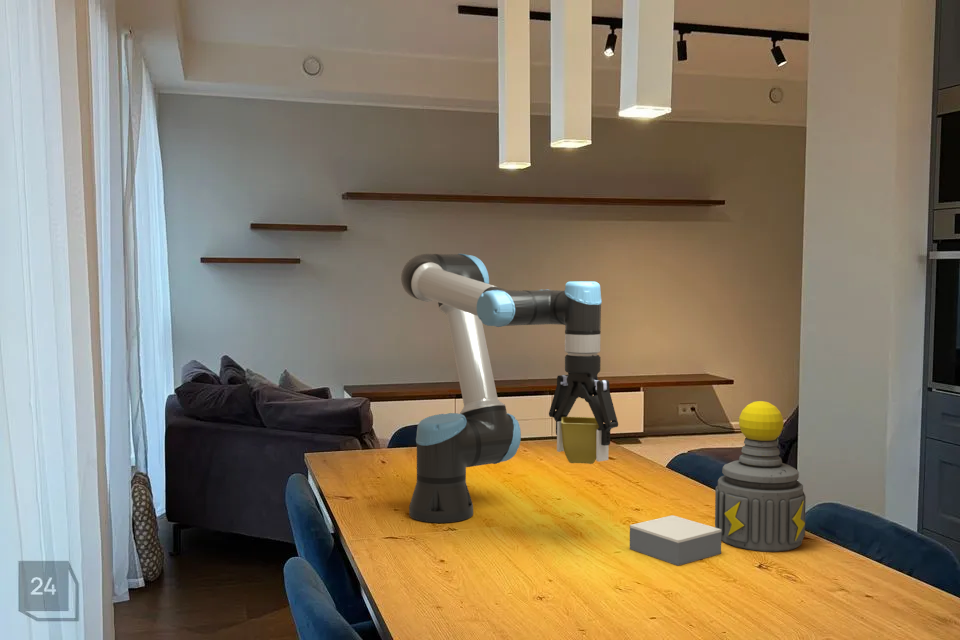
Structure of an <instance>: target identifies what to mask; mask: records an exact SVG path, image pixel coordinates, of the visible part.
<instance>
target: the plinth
mask: <svg viewBox="0 0 960 640" xmlns="http://www.w3.org/2000/svg"><path fill="white" fill-rule="evenodd" d="M629 550H631V551H635V552H638V553H641V554H643V555H647V556H649V557H652V558H655V559H657V560H660V561H662V562H666V563H669V564H671V565H674V566H682V565H685V564H689V563H693V562H696V561H699V560H700V561H701V560H703V559H707V558H710V557H713V556H717V555H721V554H722V541H721V529H718V528H715V526H711V525H708V524H704V523H701V522H697V521H694V520H690V519H688V518H684V517H681V516H677V515H667V516H663V517H659V518H656V519H650V520H647V521H642V522H638V523H634V524H629Z"/></svg>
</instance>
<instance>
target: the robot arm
mask: <svg viewBox="0 0 960 640" xmlns="http://www.w3.org/2000/svg"><path fill="white" fill-rule="evenodd" d="M400 280H401V281H400V282H401V286H402V289H403V290H404V291H405V292H406V294H407V295H409V296H410V297H411V298H413V299H415V300H418V301H419V300H420V301H421V302H424V303H425V302H432V301H434V302H437V304H438V308H439V311H440V312H442V313H443V314H444V315H446V319H447V325H448V331H449V334H450V339H451V345H452V350H453V355H454V360H455V365H456V371H457V376H458V382H459V386H460V387H459V388H460V391H461V396H462V401H463V402H462V403H463V408H462V409H461V411H460V412H459V413H456V412H454V413H453V412H452V413H451V412H450V413H440V414H439V413H438V414H435V415H431V416H428V417H425V418H423V419H421V420H420V422H419V423H418V424H417V427H416V428H417V429H416V437H415V442H416V484H415V486H414V491H413V493H412V496H411V500H410V502H409V507H408V508H409V509H408V511H409V512H408V513H409V514H408V515H409V517H410V518H411V519H413V520H416V521H420V522H424V523H434V524H435V523H437V524H439V523H445V524H446V523H454V522H462V521H465V520H468V519H470V518H471V517H472V516H474V505H473V501H472V498H471V497H472V496H471V495H470V492H469V488H468V484H467V480H466V479H467V478H466V476H467V472H466V471H467V470H466V469H467V468H470V467H471V468H472V467H478V466H485V465H492V464H493V465H496V464H499V463H503V462H507V461H510V460H512V458H514V456H515V455H516V454H517V452H518V449H519V448H520V446H521V440H522V439H521V438H522V432H521V431H522V430H521V427H520V422H519V420H517V419H516V417H515V415H513V414H510V413H508V412H507V408H506V407H507V406H506V404H505V403H504V402H502V401H501V400H500V399H498V398H499V397H498V394H497V389H496V384H495V379H494V374H493V368H492V365H491V364H492V362H491V359H490V353H489V350H488V346H487V339H486V335H485V330H484V326H487V327H489V326H490V327H498V328H499V327H508V326H539V325H540V326H541V325H557V326H558V325H559V326H560V325H563V326H564V327H565V328H564V352H565V353H566V355H565V356H564V371H565V372H566V373H567V374H561V375H559V374H558V375H557V377H556V386H555V391H554V394H553V398H552V402H551V405H550V408H549V411H548V416H549V417H550V418H551V417H552V418H553V419H554V421H555V435H556V452H559V453H560V452H564V448H563V441H562V428H561V417H569V414H570V412H571V410H572V408H573V407H574V404H575V403H576V400H577V399H579V398H580V399H582V400H584V401H585V402H586V403H588V406H589V407H590V410H591V412H592V414H593V418H595V419H596V421H597V423H598V426H599V428H598V430H597V436H596V460H595V461H596V462H604V461H609V446H610V444H611V430H612V429H614V428H617V427H619V422H618V417H617V415H616V410H615V406H614V403H613V399H612V396H611V391H610V381H609V379H603V380H599V378H598V375H599V373H600V372H601V360H602V359H601V356H600V355H599V353H600V352H601V335H602V334H601V333H602V332H601V331H602V330H601V329H602V327H601V326H602V325H601V324H602V323H601V321H602V316H601V315H602V314H601V313H602V294H601V291H602V289H601V285H600V283H598V282H597V281H567V282H566V283H565V285H564V286H565V287H564V290H554V289H537V290H535V289H532V290H530V289H529V290H526V289H525V290H514V289H513V290H511V289H505V288H503V287H498V286H496V285H493V284H490V278H489V271H488V270H487V267H486V264H484V263H483V261H482V260H481V259H480V258H478V257H477V256H476V255H475V256H474V255H470V254H466V253H465V254H464V253H457V254H456V253H454V254H453V253H450V254H449V253H421V254H418V255H416V256H413V257H412V258H410V259H409V260H408V261H407V262H406V263H405V264H404V266H403V267H402V271H401V274H400Z"/></svg>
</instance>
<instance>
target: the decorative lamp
mask: <svg viewBox="0 0 960 640" xmlns="http://www.w3.org/2000/svg"><path fill="white" fill-rule="evenodd" d="M738 426H739V429H740V431H741V433H742V435H743V436H744V437H745V438H744V441H743V444H744V446H742V448H741V451H740V452H741V453H742V454H741V455H739V458H738V460H733V461H731V462H728V463H725V464H724V465H723V466H722V470H721V471H722V474H723V475H721V476H719V478H718V480H717V486H715V494H714V495H715V498H714V500H715V501H714V502H715V504H714V506H715V507H714V508H715V509H714V527H715V528H718V529H721V542H723V543H725V544H727V545H729V546H731V547H732V546H733V547H734V548H739V549H743V550H746V551H747V550H749V551H753V552H754V551H755V552H772V553H775V552H787V551H791V550H795V549H797V548H798V547H800V546H802V544H803V543H802V542H803V540H804V537H805V535H806V503H807V502H806V501H807V500H806V497H807V496H806V494H805V492H804V484H802V483H801V482H800V481H798V480H799V477H800V475H799V474H800V473H799V470H797V469H796V468H795V467H793V466H791V465H789V464H787V463H784V462H783V460H782V457H780V456H779V455H780V454H781V453H780V449H779V448H778V440H777V439H778V437H780V436H781V433H782V430H783V429H784V418H783V415H782V413H781V411H780V410H779V409H778V407H777V406H776V405H774V404H772V403H770V402H768V401H763V400H759V401H752V402H751V403H749V404H747V405H746V406H745V407H744V408H743V409H742V410H741V412H740V415H739V417H738Z"/></svg>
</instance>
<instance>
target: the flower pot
mask: <svg viewBox="0 0 960 640" xmlns="http://www.w3.org/2000/svg"><path fill="white" fill-rule="evenodd" d="M561 428H562V441H563V448H564V451H563V452H564V455H565V457H566V459H567V461H568V463H570V464H585V465H586V464H588V465H592V464H594V463H595V461H596V436H597V430H598V428H599V426H598V423H597V421H596V419H595V417H594V416H593V417H589V416H586V417H585V416H567V417H561Z"/></svg>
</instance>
